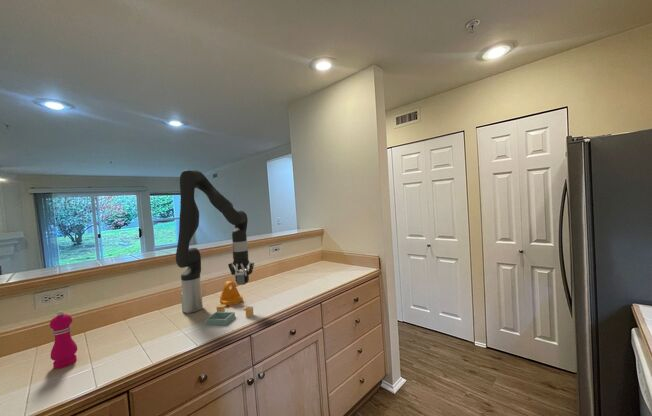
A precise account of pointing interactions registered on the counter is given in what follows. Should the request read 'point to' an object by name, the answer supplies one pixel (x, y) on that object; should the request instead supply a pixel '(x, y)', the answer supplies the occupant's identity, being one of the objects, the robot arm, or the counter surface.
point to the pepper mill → (62, 341)
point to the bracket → (230, 294)
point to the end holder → (213, 321)
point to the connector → (240, 278)
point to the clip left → (221, 308)
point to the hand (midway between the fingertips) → (242, 282)
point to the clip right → (248, 311)
